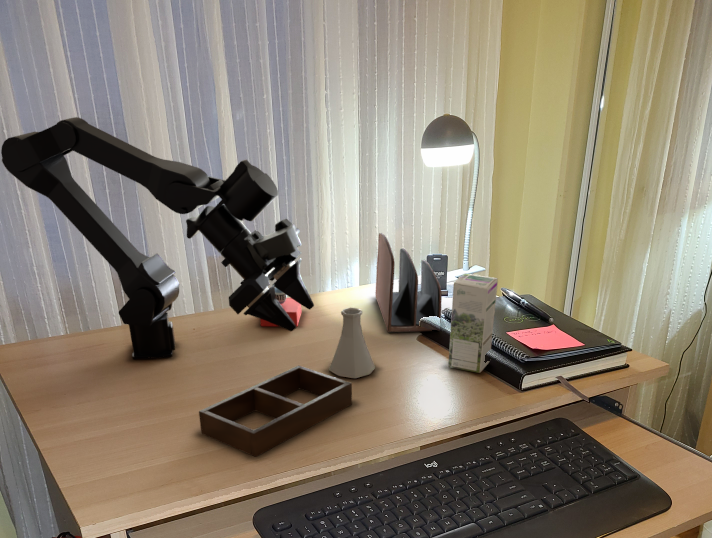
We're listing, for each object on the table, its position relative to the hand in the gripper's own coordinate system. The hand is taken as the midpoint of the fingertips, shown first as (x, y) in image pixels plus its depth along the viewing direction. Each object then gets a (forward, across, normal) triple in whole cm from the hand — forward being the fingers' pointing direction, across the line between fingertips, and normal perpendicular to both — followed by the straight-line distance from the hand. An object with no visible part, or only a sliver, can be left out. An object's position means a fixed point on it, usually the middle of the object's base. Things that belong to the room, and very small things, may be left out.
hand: (303, 318), depth 123 cm
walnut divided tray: (+7, -20, +3) cm, 21 cm away
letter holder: (+15, +29, -1) cm, 32 cm away
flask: (+12, 0, 0) cm, 12 cm away
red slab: (-1, +20, +15) cm, 25 cm away
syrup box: (+24, +7, -13) cm, 29 cm away
